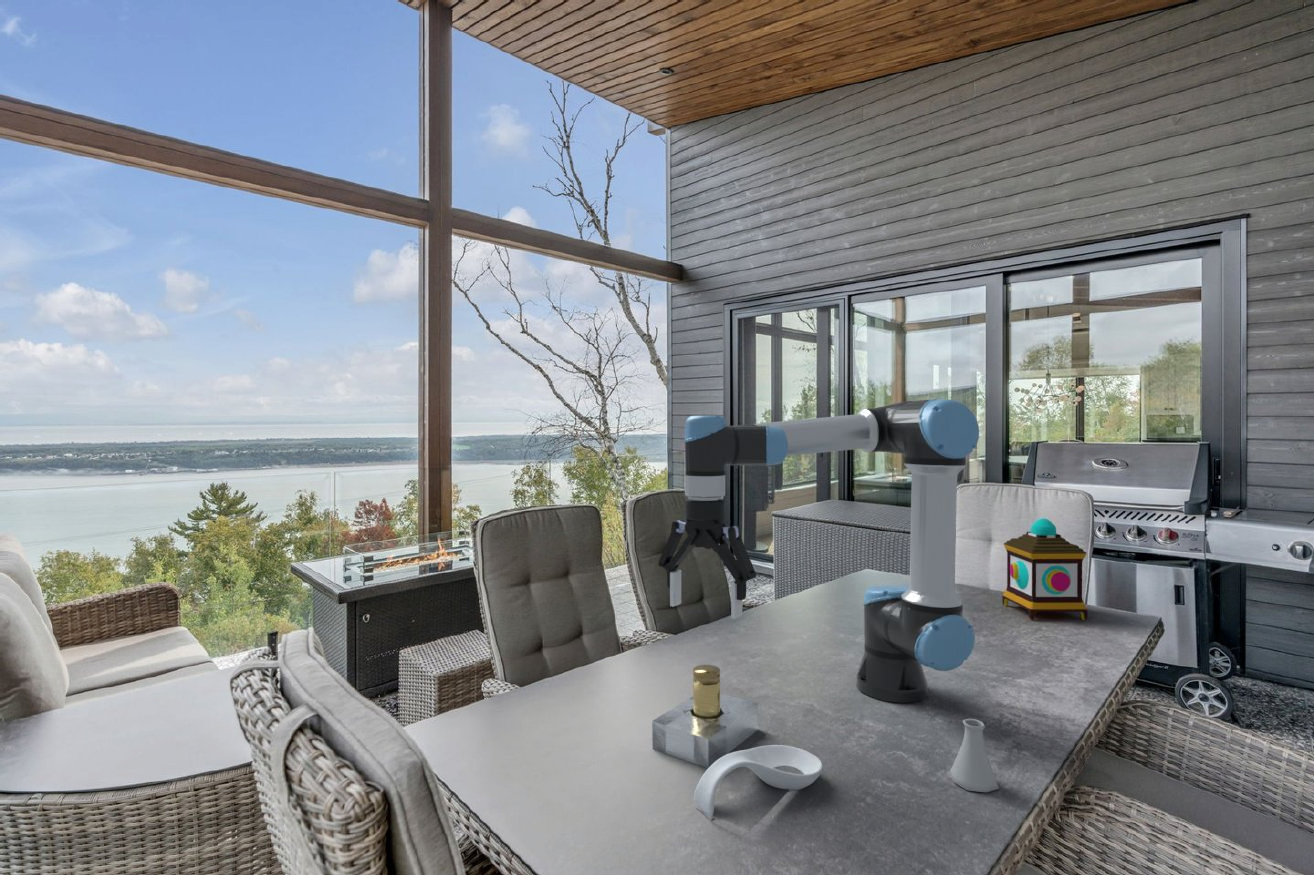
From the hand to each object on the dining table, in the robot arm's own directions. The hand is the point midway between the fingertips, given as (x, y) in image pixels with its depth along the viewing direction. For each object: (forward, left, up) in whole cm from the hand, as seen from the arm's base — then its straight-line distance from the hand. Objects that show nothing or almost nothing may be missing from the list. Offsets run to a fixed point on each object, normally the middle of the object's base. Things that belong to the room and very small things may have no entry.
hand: (705, 610), depth 123 cm
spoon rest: (-16, +9, -25) cm, 31 cm away
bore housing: (0, 0, -25) cm, 25 cm away
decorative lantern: (-40, -135, -25) cm, 143 cm away
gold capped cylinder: (0, 0, -24) cm, 24 cm away
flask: (-43, -15, -25) cm, 52 cm away
